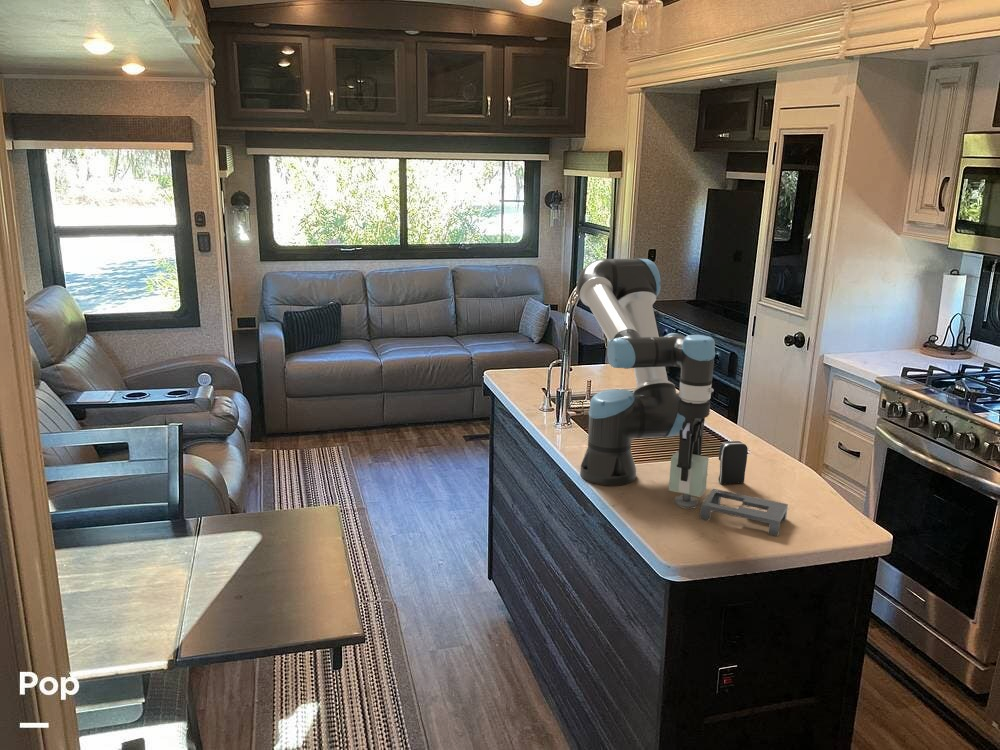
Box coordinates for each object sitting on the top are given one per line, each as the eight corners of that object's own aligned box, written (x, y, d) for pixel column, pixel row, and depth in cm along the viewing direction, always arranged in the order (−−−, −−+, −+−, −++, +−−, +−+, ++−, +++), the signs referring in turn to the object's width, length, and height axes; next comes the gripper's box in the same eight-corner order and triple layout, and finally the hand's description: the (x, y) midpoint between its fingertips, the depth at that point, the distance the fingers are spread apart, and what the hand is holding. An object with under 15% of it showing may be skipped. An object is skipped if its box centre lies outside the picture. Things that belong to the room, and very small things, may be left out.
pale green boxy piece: (667, 504, 198) (670, 457, 194) (674, 496, 202) (677, 450, 199) (698, 511, 194) (702, 463, 190) (705, 503, 198) (709, 456, 195)
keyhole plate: (699, 518, 189) (701, 504, 188) (712, 502, 199) (713, 488, 198) (777, 536, 181) (779, 521, 180) (786, 518, 190) (787, 504, 189)
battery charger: (738, 478, 214) (742, 439, 211) (745, 484, 211) (749, 443, 208) (714, 479, 213) (718, 440, 210) (720, 485, 210) (724, 445, 207)
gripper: (699, 411, 182) (691, 504, 188) (719, 392, 197) (711, 479, 203) (668, 406, 185) (661, 497, 191) (690, 388, 200) (683, 473, 206)
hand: (687, 487), depth 197 cm, fingers closed on pale green boxy piece, 5 cm apart
